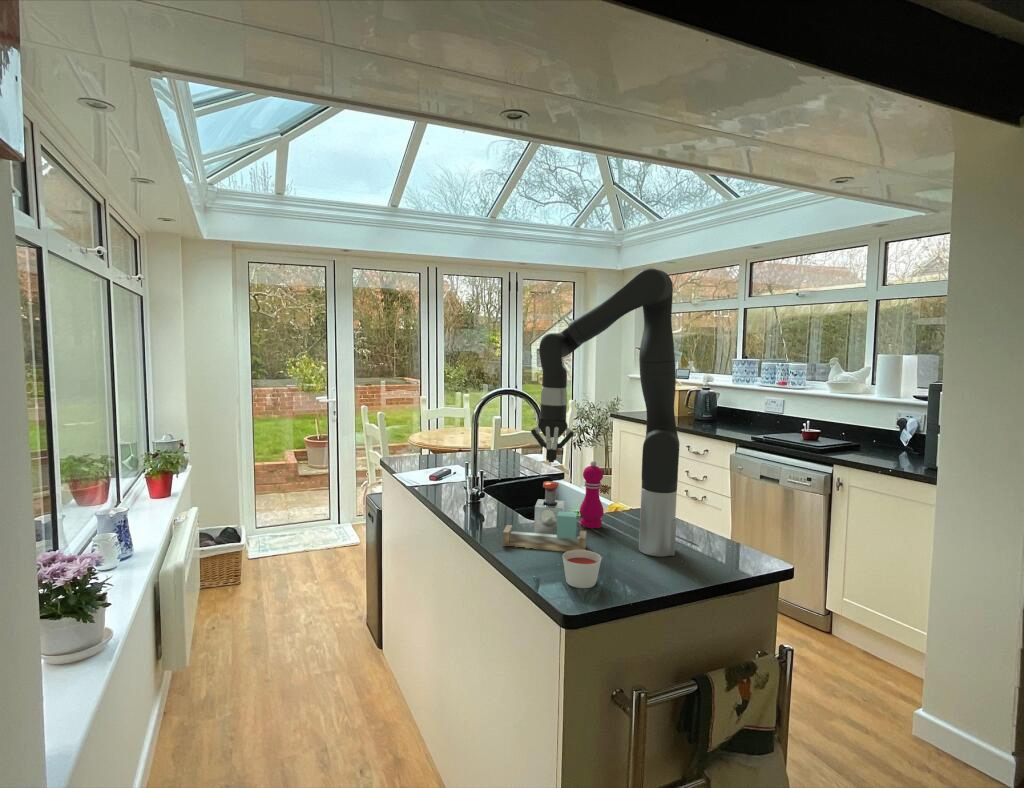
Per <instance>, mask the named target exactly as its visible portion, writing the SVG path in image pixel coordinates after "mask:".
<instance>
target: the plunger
mask: <svg viewBox="0 0 1024 788" xmlns="http://www.w3.org/2000/svg"><path fill="white" fill-rule="evenodd" d="M542 488H544V489H545V492H544V493H545V494H544V500H545V505H546V506H555V500H556V491H557V489H558V488H559V482H557V481H552V480H551V481H550V480H549V481H548V480H546V481H543V484H542Z"/></svg>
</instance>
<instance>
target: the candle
mask: <svg viewBox="0 0 1024 788" xmlns="http://www.w3.org/2000/svg"><path fill="white" fill-rule="evenodd" d="M562 561H563V562H562V563H563V568H564V575H565V581H566V583H567V584H568V586H571V587H572V588H577V589H590V588H593V587H594V586H595V585H596V583H597V580H598V575H599V570H600V567H601V563H602V556H601V555H600V554H599V553H596V552H595V551H593V550H592V551H590V550H588V549H587V550H586V549H585V550H571V551H567V552H566V551H564V553H562Z"/></svg>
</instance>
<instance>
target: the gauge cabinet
mask: <svg viewBox="0 0 1024 788" xmlns="http://www.w3.org/2000/svg"><path fill="white" fill-rule="evenodd" d="M565 502H566V501H565V500H557V499H555V506H546V505H545V498H544V499H542V498H541V499H539V498H538V499H537V501H536V503H535V505H534V525H533V527H534V528H533V533H540V534H554V535H557V517H558V513H559V511H560V512H565V505H566V503H565Z"/></svg>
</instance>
